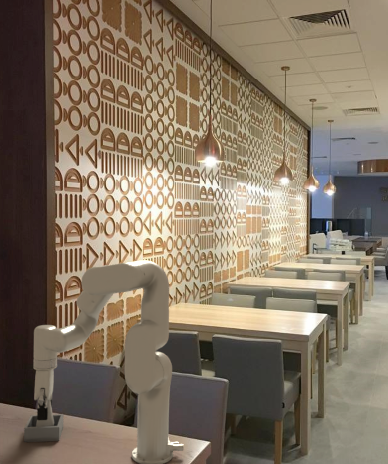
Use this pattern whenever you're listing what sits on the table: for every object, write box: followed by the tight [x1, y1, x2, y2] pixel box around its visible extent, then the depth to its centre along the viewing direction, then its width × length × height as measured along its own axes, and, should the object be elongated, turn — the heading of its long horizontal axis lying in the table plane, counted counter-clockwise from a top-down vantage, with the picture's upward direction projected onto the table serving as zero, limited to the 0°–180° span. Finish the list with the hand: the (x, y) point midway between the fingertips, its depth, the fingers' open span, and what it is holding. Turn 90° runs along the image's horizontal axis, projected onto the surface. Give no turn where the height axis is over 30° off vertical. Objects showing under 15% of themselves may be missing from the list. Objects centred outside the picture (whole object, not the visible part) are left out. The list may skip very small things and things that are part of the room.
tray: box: [23, 413, 65, 443], centre depth 170 cm, size 11×11×4 cm
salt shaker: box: [36, 393, 54, 427], centre depth 170 cm, size 6×6×13 cm
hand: (44, 414), depth 170 cm, fingers open, 9 cm apart
